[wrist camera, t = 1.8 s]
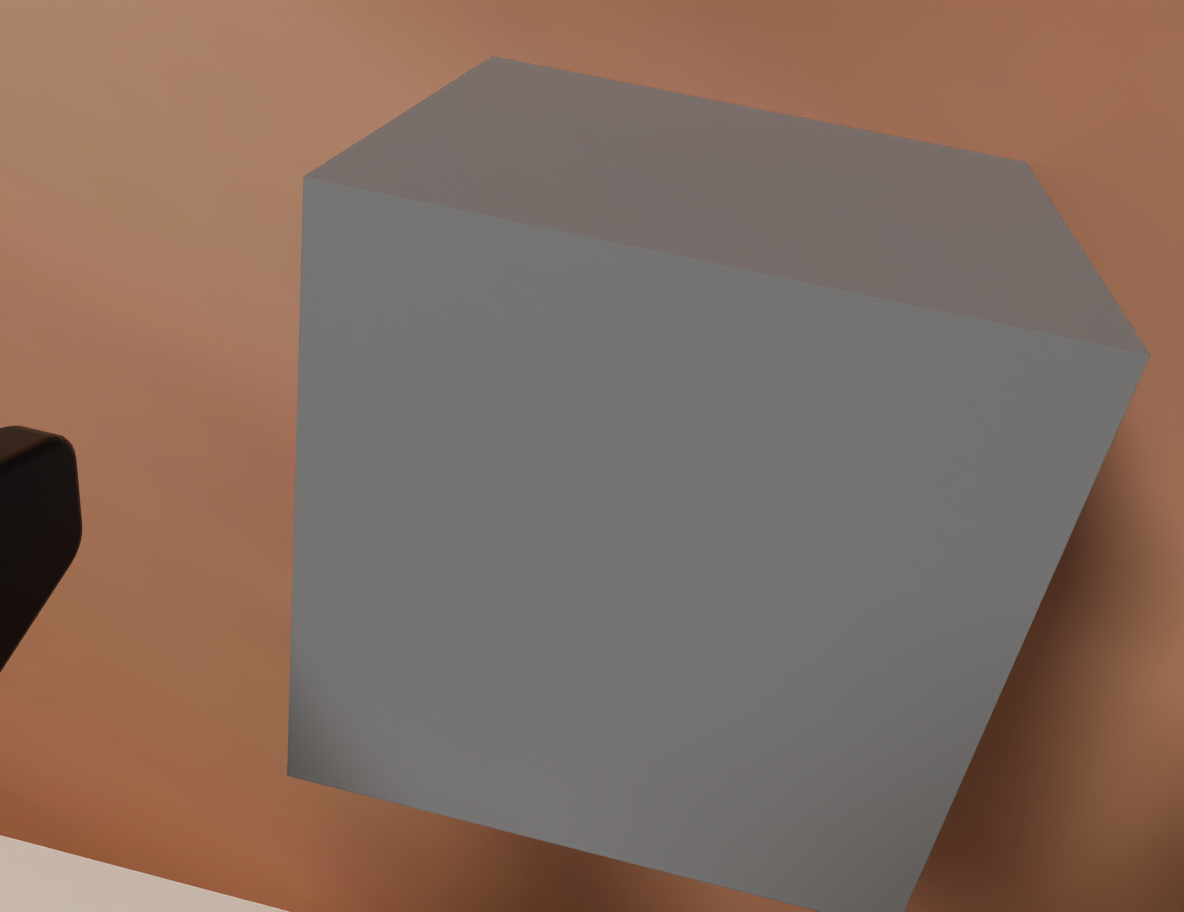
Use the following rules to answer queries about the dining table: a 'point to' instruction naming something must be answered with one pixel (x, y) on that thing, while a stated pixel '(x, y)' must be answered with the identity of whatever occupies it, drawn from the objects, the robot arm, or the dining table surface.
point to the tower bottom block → (96, 886)
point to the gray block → (681, 473)
